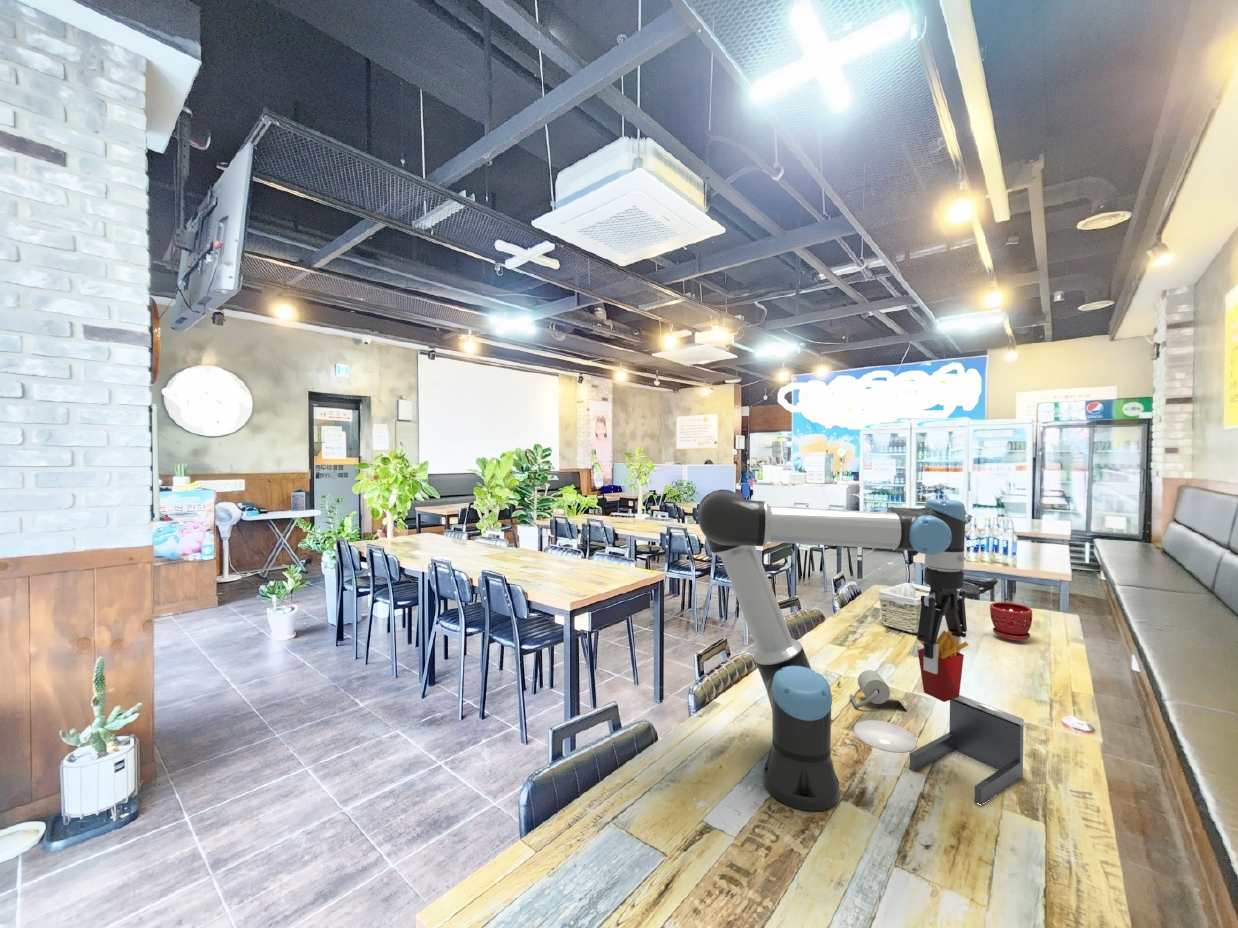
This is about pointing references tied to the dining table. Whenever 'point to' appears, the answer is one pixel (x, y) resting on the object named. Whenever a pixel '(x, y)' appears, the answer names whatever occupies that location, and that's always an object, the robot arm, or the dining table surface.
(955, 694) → the french fries
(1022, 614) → the plant pot
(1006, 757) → the gray bracket
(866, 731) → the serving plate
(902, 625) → the storage basket
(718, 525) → the robot arm
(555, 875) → the dining table surface
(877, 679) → the toilet paper roll
